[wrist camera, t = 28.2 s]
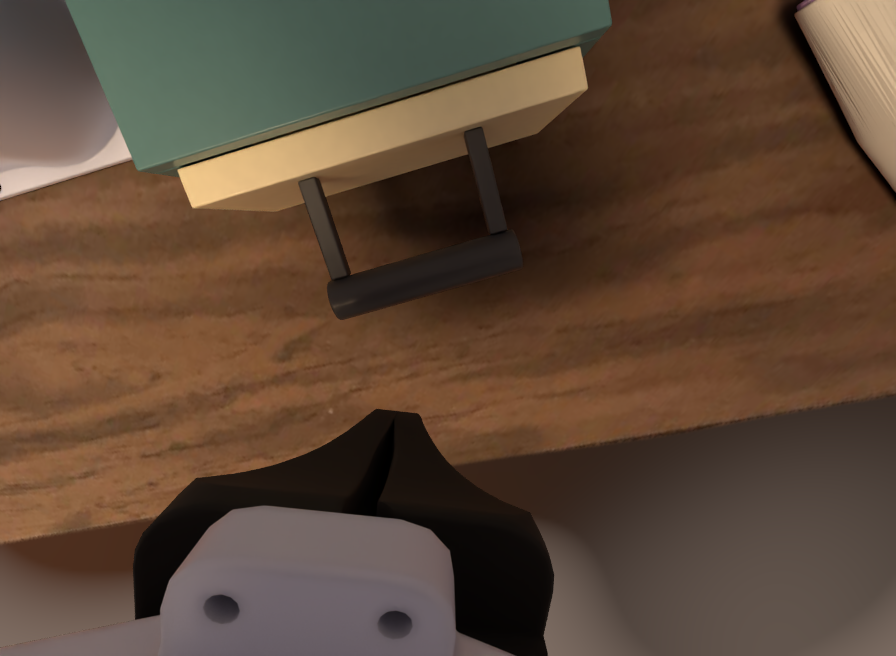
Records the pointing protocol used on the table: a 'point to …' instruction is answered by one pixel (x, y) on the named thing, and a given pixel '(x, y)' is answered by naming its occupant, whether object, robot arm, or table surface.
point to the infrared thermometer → (859, 68)
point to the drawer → (398, 172)
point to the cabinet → (298, 61)
